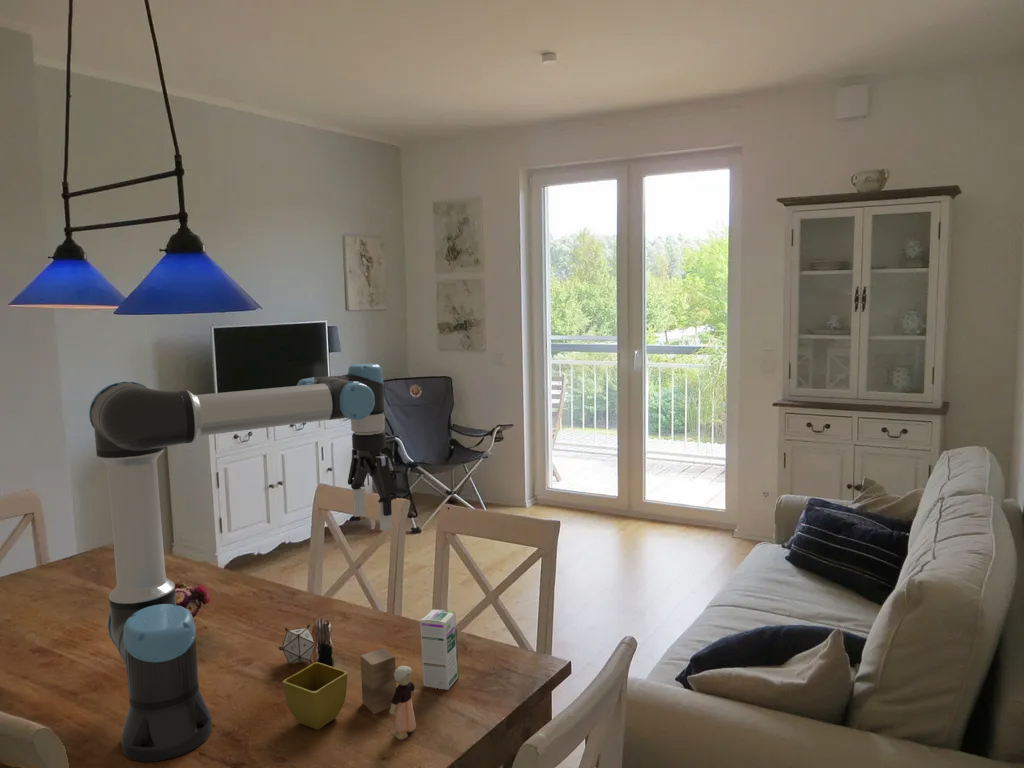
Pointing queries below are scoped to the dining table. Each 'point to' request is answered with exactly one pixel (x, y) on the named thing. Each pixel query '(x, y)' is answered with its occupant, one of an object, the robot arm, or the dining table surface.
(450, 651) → the syrup box
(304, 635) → the game die
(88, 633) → the dining table surface
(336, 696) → the flower pot
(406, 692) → the grandmother figurine
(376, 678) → the walnut block
